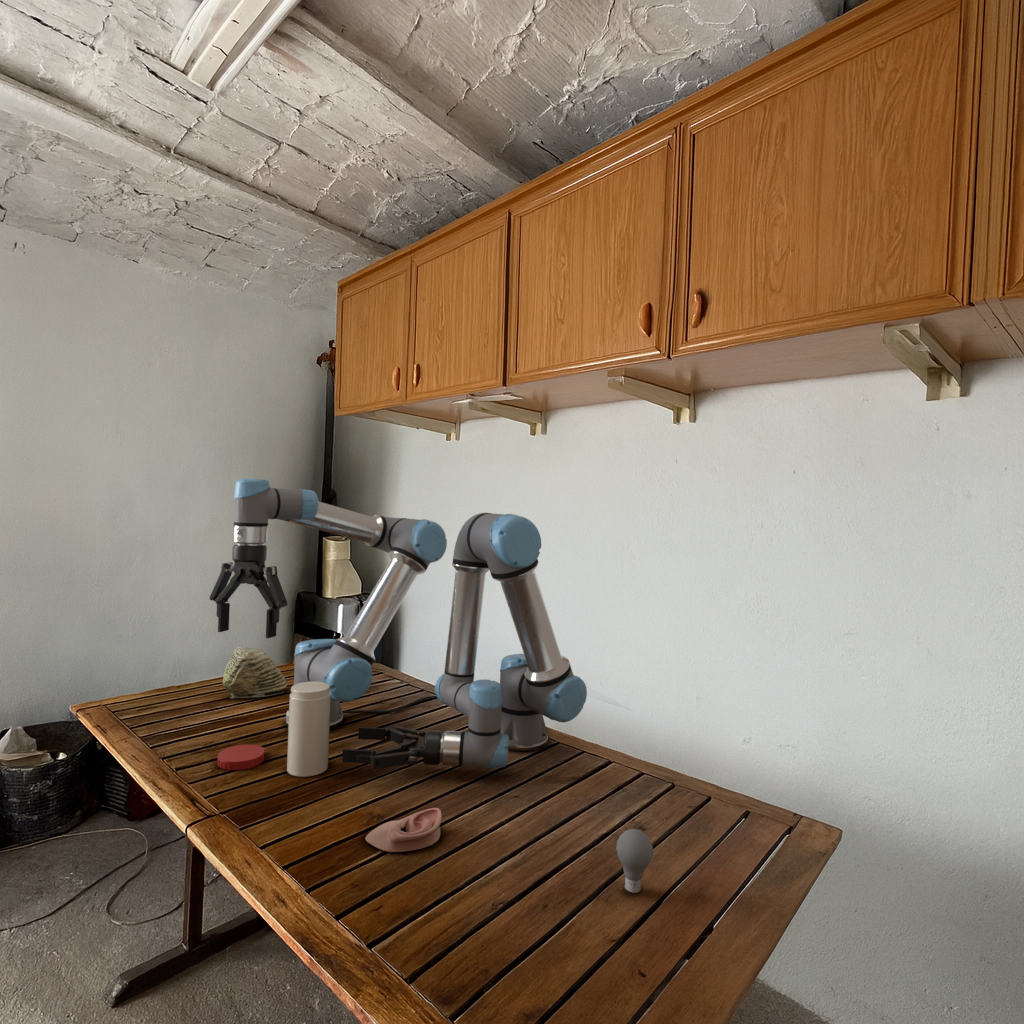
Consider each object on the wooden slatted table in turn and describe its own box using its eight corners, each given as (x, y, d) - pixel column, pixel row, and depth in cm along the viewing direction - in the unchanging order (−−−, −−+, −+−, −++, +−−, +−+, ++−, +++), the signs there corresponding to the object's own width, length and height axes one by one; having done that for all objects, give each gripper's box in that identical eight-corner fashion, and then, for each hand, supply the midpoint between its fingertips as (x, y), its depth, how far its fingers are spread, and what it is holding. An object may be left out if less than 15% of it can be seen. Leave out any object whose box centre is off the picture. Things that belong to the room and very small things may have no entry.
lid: (273, 760, 151) (273, 752, 151) (232, 774, 142) (232, 765, 142) (249, 748, 157) (249, 741, 157) (208, 761, 149) (208, 753, 149)
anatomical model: (358, 825, 115) (384, 797, 126) (357, 847, 115) (383, 816, 126) (428, 836, 112) (447, 806, 123) (427, 858, 112) (447, 826, 123)
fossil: (218, 695, 195) (220, 647, 195) (278, 685, 208) (279, 640, 207) (228, 703, 189) (230, 653, 188) (289, 692, 201) (290, 645, 201)
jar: (287, 761, 150) (290, 681, 150) (327, 758, 153) (330, 680, 153) (286, 778, 142) (289, 693, 141) (328, 774, 144) (331, 691, 144)
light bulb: (610, 879, 108) (613, 822, 108) (644, 879, 109) (647, 822, 109) (619, 902, 102) (622, 840, 102) (655, 901, 103) (658, 840, 103)
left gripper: (195, 541, 149) (192, 631, 149) (284, 548, 142) (281, 642, 142) (218, 540, 156) (215, 625, 157) (305, 546, 149) (301, 636, 149)
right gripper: (434, 788, 135) (334, 783, 135) (447, 743, 160) (363, 739, 160) (435, 753, 134) (336, 748, 135) (448, 713, 159) (364, 709, 160)
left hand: (246, 634), depth 149 cm, fingers open, 13 cm apart
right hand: (350, 743), depth 147 cm, fingers open, 13 cm apart
